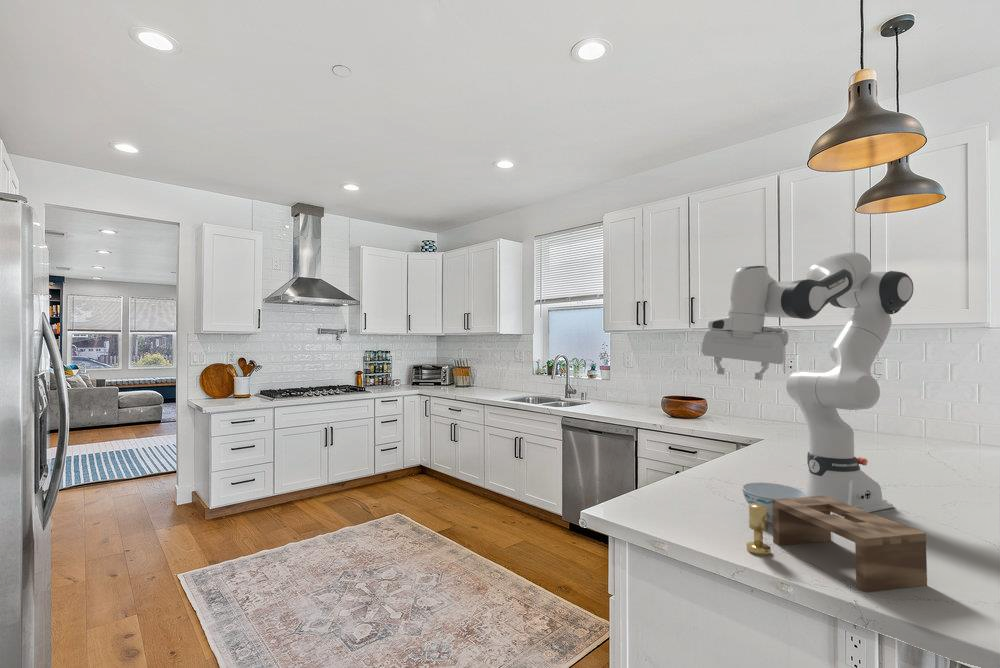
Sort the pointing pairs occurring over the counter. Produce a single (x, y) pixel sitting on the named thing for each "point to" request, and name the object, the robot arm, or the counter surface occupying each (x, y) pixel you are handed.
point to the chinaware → (769, 494)
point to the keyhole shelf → (856, 540)
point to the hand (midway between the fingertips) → (739, 377)
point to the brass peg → (758, 529)
